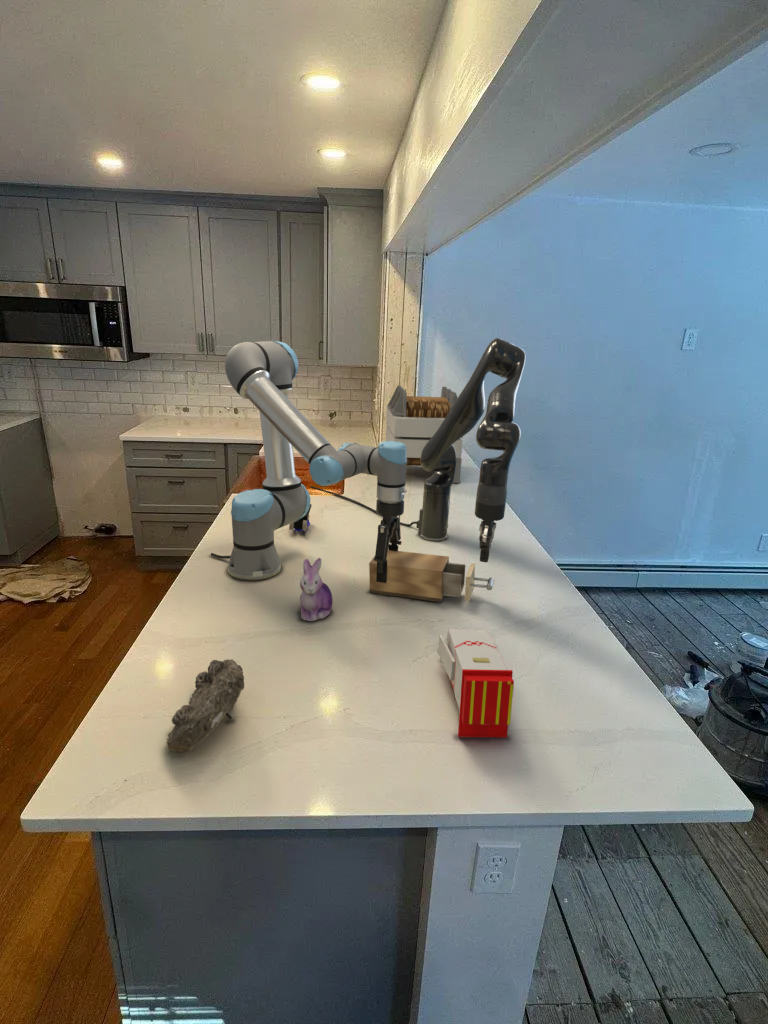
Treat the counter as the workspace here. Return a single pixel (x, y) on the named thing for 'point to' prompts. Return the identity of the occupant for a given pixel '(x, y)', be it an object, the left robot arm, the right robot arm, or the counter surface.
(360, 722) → the counter surface
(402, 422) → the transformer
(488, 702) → the toy
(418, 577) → the cabinet
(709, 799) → the counter surface
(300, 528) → the figurine character
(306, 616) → the figurine
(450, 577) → the drawer
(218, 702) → the fossil
